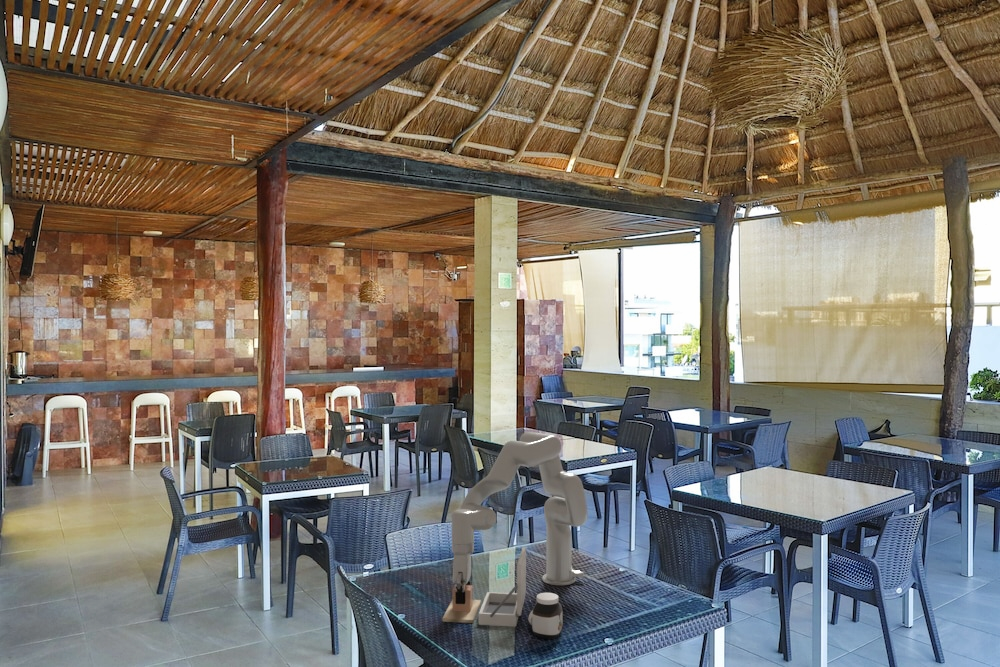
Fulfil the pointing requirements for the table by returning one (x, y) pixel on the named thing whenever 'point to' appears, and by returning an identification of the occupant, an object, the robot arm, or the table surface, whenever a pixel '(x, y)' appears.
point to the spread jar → (546, 616)
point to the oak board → (461, 614)
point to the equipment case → (506, 600)
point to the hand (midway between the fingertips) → (463, 598)
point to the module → (468, 599)
